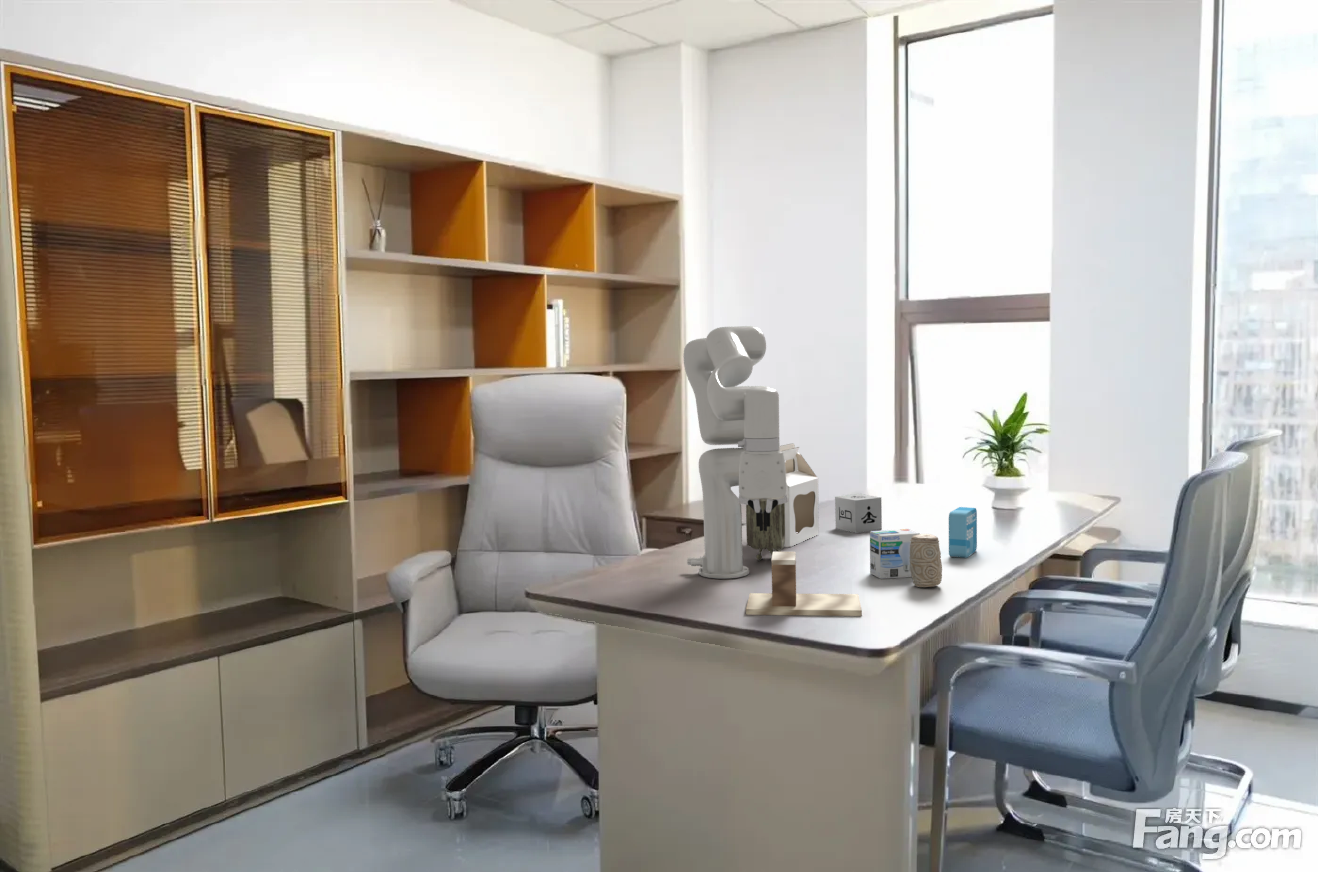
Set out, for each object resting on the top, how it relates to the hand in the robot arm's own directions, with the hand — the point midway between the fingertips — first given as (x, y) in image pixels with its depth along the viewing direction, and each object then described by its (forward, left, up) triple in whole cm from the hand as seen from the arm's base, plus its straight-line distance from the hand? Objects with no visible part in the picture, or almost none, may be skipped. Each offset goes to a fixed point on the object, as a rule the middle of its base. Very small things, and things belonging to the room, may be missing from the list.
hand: (763, 529), depth 214 cm
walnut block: (+4, 0, -16) cm, 16 cm away
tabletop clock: (-2, +49, -17) cm, 52 cm away
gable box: (+2, +79, -17) cm, 81 cm away
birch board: (+8, 0, -17) cm, 19 cm away
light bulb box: (+30, +32, -17) cm, 47 cm away
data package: (+50, +58, -17) cm, 79 cm away
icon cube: (+25, +96, -17) cm, 101 cm away
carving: (+36, +20, -17) cm, 45 cm away
